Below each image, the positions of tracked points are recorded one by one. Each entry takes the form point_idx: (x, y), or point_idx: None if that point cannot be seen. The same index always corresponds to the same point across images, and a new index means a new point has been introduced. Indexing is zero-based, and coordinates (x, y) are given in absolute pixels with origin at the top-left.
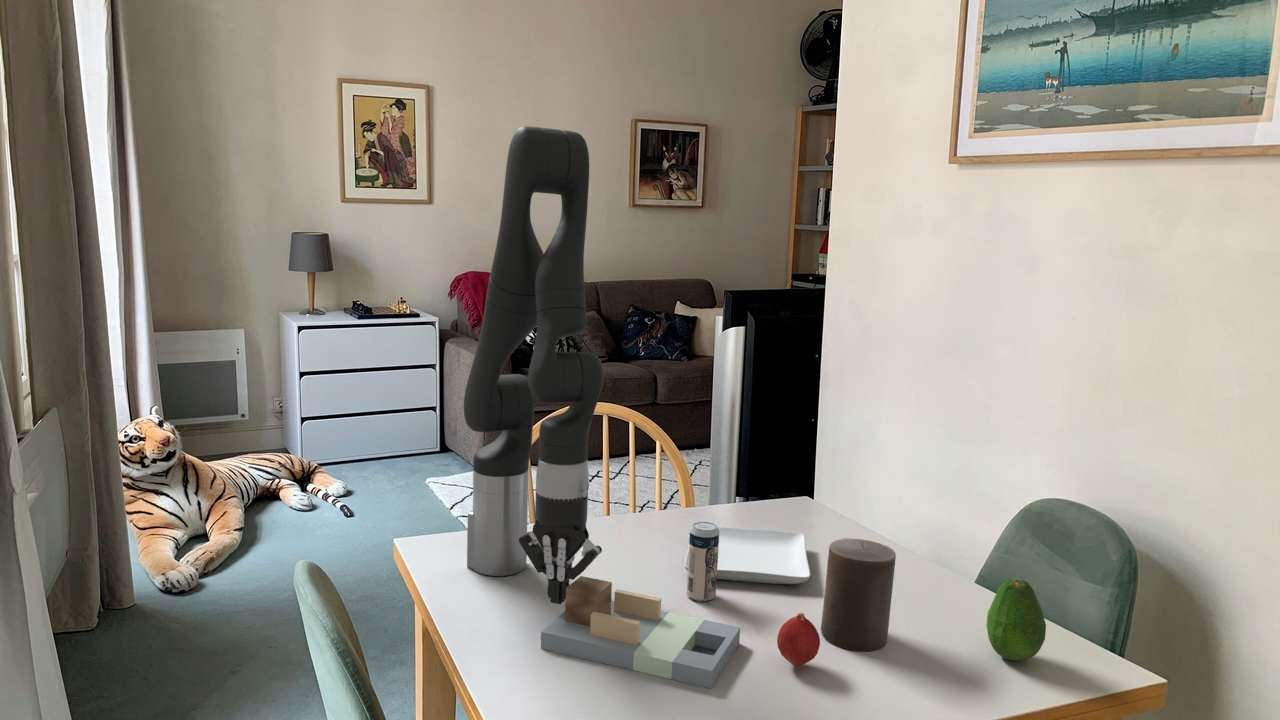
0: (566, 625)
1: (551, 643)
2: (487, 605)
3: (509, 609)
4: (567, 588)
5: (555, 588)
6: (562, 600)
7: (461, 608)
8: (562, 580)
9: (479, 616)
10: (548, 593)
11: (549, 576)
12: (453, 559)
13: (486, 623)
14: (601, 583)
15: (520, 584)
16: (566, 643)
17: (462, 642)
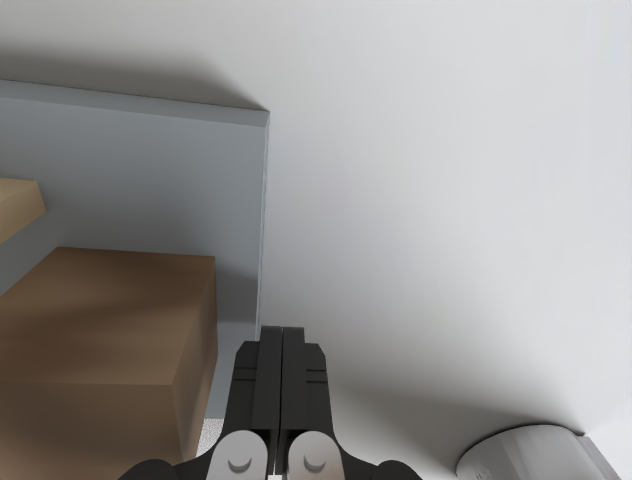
0: (187, 223)
1: (215, 112)
2: (521, 315)
3: (454, 316)
4: (159, 385)
5: (278, 385)
6: (248, 343)
7: (598, 278)
8: (227, 439)
9: (539, 254)
10: (320, 360)
11: (316, 447)
12: (617, 448)
13: (512, 221)
14: (31, 477)
15: (452, 417)
16: (131, 106)
17: (593, 48)
